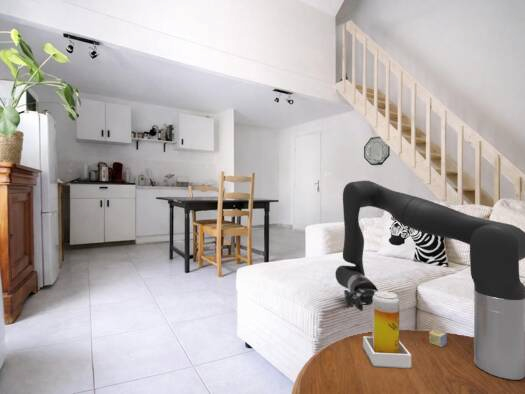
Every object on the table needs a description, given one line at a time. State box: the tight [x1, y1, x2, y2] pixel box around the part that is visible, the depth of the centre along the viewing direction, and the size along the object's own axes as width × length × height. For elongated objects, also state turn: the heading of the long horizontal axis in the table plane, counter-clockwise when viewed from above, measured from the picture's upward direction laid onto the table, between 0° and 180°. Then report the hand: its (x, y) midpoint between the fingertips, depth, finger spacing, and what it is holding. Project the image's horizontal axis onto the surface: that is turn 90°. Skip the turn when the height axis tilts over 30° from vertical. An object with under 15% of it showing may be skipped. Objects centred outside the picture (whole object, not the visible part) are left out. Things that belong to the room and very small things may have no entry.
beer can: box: [371, 290, 400, 354], centre depth 73 cm, size 6×6×15 cm
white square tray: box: [362, 335, 412, 369], centre depth 73 cm, size 9×9×3 cm
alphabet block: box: [428, 329, 447, 348], centre depth 80 cm, size 3×3×3 cm
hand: (378, 307), depth 79 cm, fingers open, 8 cm apart
